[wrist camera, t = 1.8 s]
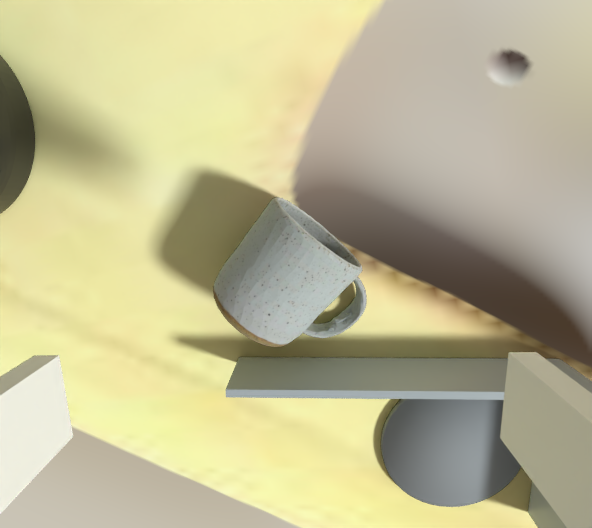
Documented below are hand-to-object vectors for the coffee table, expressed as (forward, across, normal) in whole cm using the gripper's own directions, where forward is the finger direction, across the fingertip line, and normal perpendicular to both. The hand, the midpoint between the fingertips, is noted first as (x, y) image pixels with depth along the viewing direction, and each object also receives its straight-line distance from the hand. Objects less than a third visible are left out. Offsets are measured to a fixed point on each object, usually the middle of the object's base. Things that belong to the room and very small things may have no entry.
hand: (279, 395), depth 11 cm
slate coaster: (+19, +13, -16) cm, 28 cm away
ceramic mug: (+19, 0, -1) cm, 19 cm away
